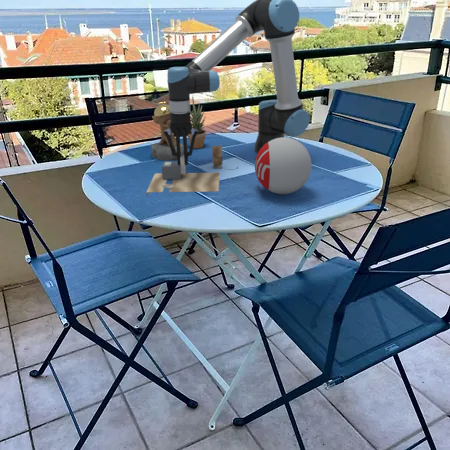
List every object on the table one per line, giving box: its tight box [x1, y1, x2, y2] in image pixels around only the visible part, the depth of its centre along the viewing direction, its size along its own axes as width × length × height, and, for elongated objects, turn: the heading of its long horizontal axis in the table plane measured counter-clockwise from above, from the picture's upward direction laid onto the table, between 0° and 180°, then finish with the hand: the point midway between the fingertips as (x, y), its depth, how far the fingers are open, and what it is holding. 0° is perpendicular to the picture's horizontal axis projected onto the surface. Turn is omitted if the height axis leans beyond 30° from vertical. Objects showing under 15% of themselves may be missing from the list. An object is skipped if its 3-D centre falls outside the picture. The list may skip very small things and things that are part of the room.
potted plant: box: [187, 96, 207, 149], centre depth 212 cm, size 10×10×25 cm
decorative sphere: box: [254, 136, 312, 195], centre depth 159 cm, size 20×20×20 cm
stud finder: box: [161, 161, 182, 180], centre depth 175 cm, size 7×6×5 cm
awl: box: [211, 145, 223, 169], centre depth 184 cm, size 4×4×10 cm
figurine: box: [150, 101, 184, 162], centre depth 198 cm, size 14×11×25 cm
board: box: [145, 172, 221, 197], centre depth 171 cm, size 26×20×2 cm
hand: (183, 172), depth 175 cm, fingers closed
